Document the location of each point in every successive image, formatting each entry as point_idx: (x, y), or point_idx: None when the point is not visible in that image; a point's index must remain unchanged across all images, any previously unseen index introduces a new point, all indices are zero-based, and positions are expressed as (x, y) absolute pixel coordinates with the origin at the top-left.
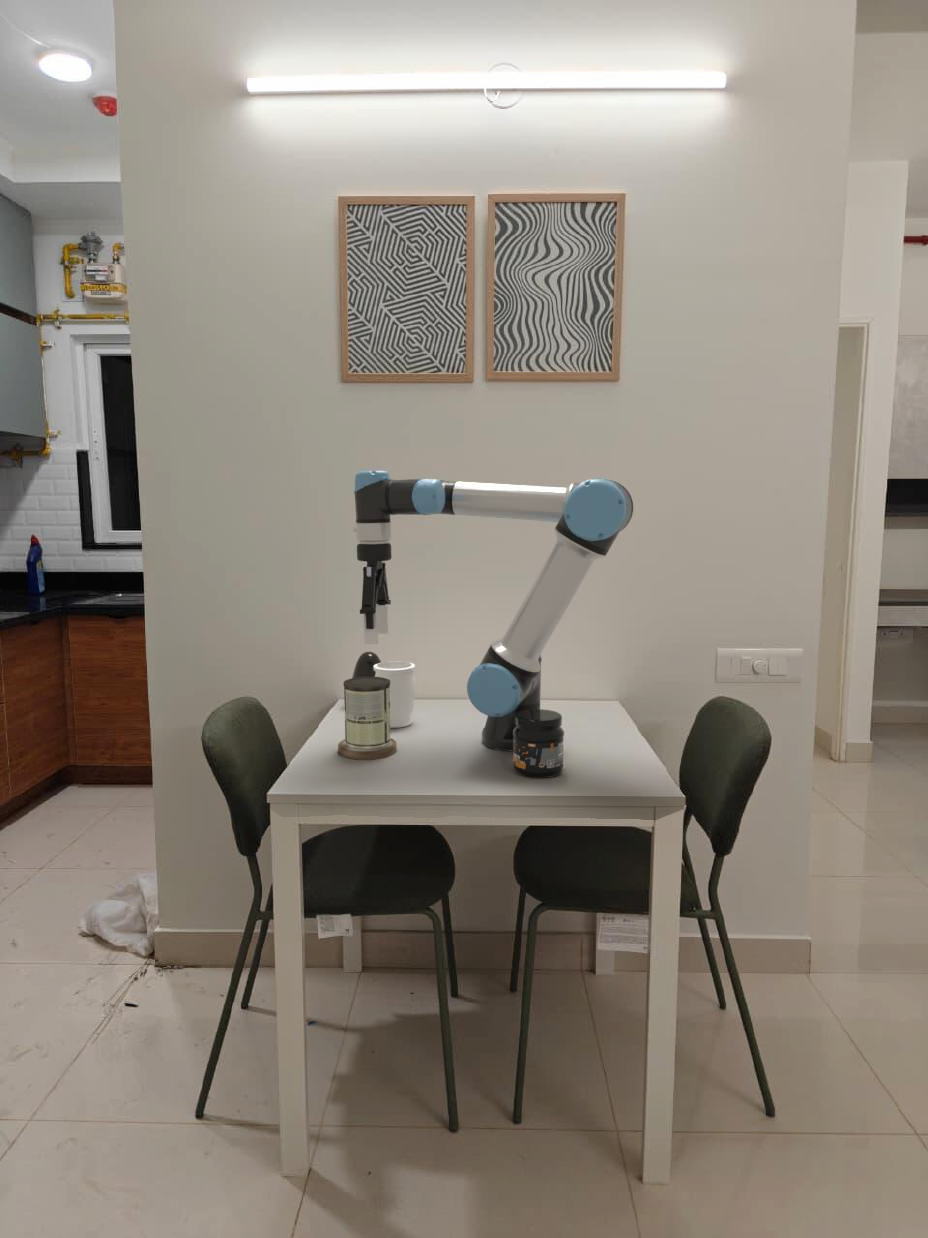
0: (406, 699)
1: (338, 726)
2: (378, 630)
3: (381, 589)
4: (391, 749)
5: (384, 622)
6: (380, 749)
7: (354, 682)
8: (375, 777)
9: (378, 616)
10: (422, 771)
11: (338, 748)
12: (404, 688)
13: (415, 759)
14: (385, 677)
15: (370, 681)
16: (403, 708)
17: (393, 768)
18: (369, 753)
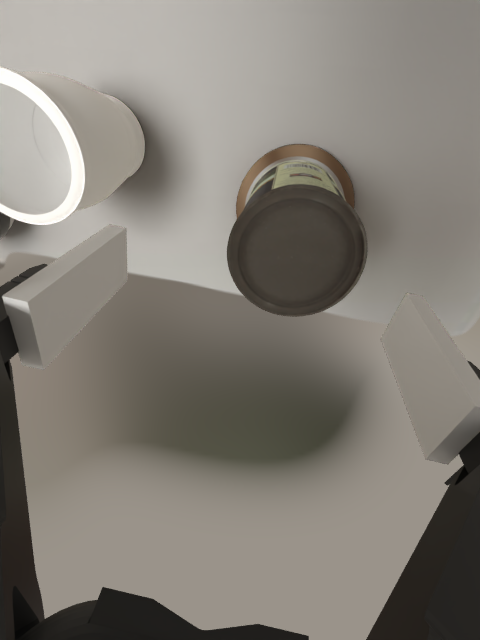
0: (110, 109)
1: (136, 257)
2: (120, 276)
3: (11, 464)
4: (335, 159)
5: (98, 265)
6: (340, 185)
7: (292, 290)
8: (463, 197)
9: (83, 312)
10: (474, 85)
11: None
12: (98, 116)
13: (381, 99)
14: (89, 184)
15: (288, 248)
16: (123, 119)
17: (424, 156)
18: (353, 208)
